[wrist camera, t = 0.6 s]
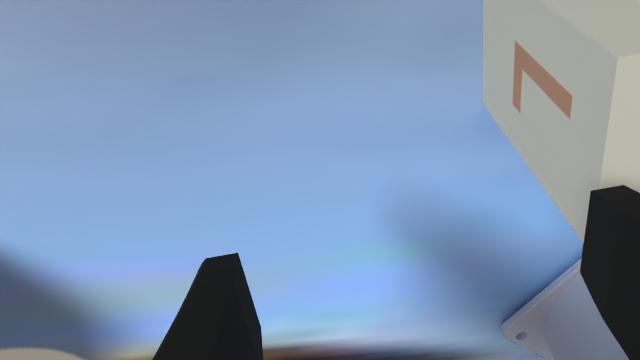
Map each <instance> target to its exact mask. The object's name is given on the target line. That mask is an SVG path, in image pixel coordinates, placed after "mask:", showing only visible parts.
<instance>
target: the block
mask: <svg viewBox="0 0 640 360" xmlns="http://www.w3.org/2000/svg"><path fill="white" fill-rule="evenodd" d="M483 104H484V106H485V107H486V109H487V110H488V111H489V113H490V114H491V116H492V117H493V118H494V120H495V121H496V122H497V124H498V125H499V127H500V128H501V129H502V131H503V132H504V134H505V135H506V136H507V138H508V139H509V141H510V142H511V143H512V145H513V146H514V147H515V149H516V150H517V152H518V153H519V154H520V156H521V157H522V159H523V160H524V161H525V163H526V164H527V166H528V167H529V168H530V170H531V171H532V172H533V174H534V175H535V177H536V178H537V179H538V181H539V182H540V184H541V185H542V186H543V188H544V189H545V190H546V192H547V193H548V195H549V196H550V197H551V199H552V200H553V202H554V203H555V204H556V206H557V207H558V209H559V210H560V211H561V213H562V214H563V215H564V217H565V218H566V220H567V221H568V222H569V224H570V225H571V227H572V228H573V229H574V231H575V232H576V234H577V235H578V236H579V238H580V239H581V240H582V242H583V243H584V237H585V229H586V222H587V215H588V207H589V200H590V192H591V191H592V190H598V189H603V188H609V187H615V186H620V185H625V186H627V187H629V188H631V189H633V190H635V191H637V192H639V193H640V0H484V43H483Z"/></svg>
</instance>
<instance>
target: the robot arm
mask: <svg viewBox="0 0 640 360" xmlns="http://www.w3.org/2000/svg"><path fill="white" fill-rule="evenodd" d="M501 331H502V333H503V336H504V337H505V338H507V339H509V340H511V341H513V342H515V343H517V344H519V345H521V346H522V347H524V348H526V349H528V350H530V351H532V352H534V353H536V354H538V355H540V356H542V357H544V358H546V359H548V360H640V193H639V192H637V191H635V190H633V189H631V188H629V187H627V186H625V185H620V186H615V187H609V188H603V189H598V190H592V191H591V192H590V200H589V207H588V215H587V222H586V229H585V237H584V244H583V252H582V258H580V259H579V260H578V261H577V262H576V263H575V264H573V265H572V266H571V267H570V268H569V269H567V270H566V271H565V272H564V273H563V274H561V275H560V276H559V277H558V278H557V279H555V280H554V281H553V282H552V283H551V284H549V285H548V286H547V287H546V288H545V289H544V290H542V291H541V292H540V293H539V294H538V295H536V296H535V297H534V298H533V299H532V300H530V301H529V302H528V303H527V304H526V305H524V306H523V307H522V308H521V309H520V310H518V311H517V312H516V313H515V314H514V315H513V316H511V317H510V318H509V319H508V320H507V321H505V322H504V323H503V325H502V326H501ZM152 360H263V350H262V336H261V326H260V323H259V320H258V317H257V313H256V310H255V307H254V304H253V300H252V297H251V294H250V291H249V287H248V284H247V281H246V278H245V274H244V271H243V268H242V265H241V261H240V258H239V255H238V253H234V254H229V255H223V256H217V257H212V258H206V259H205V260H204V261H203V263H202V264H201V266H200V268H199V270H198V273H197V275H196V277H195V279H194V281H193V283H192V285H191V288H190V290H189V292H188V294H187V296H186V298H185V300H184V302H183V304H182V306H181V308H180V310H179V312H178V314H177V316H176V318H175V319H174V321H173V323H172V325H171V327H170V329H169V330H168V332H167V334H166V336H165V338H164V340H163V341H162V343H161V345H160V347H159V349H158V350H157V352H156V354H155V356H154V357H153V359H152Z"/></svg>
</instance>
